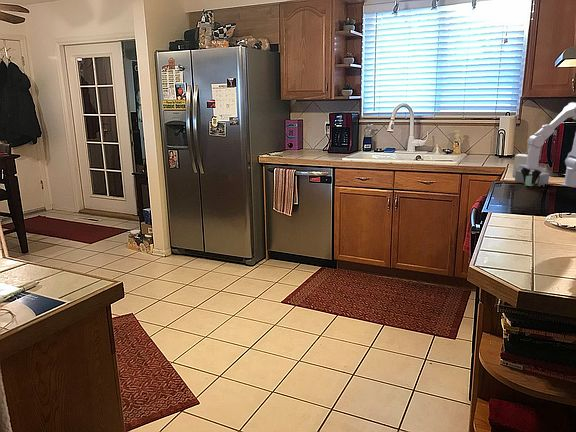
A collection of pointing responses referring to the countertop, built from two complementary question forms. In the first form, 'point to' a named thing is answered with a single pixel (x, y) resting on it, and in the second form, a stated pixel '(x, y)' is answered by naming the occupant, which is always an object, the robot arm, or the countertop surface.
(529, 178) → the cartridge
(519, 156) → the supplement box
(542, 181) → the housing
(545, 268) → the countertop surface
